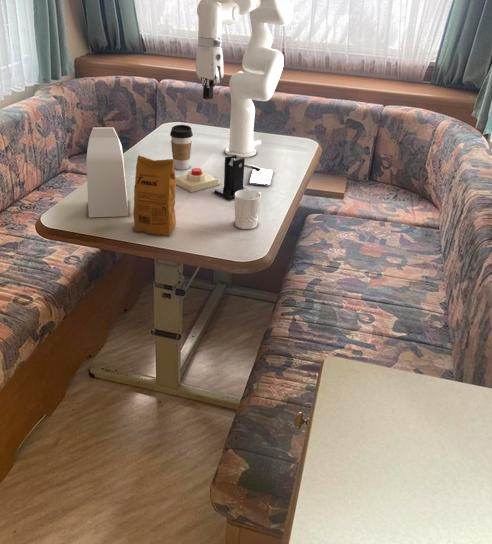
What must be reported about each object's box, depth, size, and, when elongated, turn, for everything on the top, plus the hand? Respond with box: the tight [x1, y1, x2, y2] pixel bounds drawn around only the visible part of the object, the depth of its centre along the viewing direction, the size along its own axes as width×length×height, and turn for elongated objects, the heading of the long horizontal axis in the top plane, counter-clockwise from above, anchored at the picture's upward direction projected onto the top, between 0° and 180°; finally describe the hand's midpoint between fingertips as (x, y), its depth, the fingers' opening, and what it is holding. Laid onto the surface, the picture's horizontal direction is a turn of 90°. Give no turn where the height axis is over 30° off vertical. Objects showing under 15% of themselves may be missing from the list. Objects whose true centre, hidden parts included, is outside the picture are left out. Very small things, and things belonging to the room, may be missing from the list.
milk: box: [85, 126, 129, 218], centre depth 176 cm, size 12×12×26 cm
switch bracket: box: [213, 155, 248, 201], centre depth 194 cm, size 10×8×13 cm
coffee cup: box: [169, 124, 194, 171], centre depth 214 cm, size 8×8×15 cm
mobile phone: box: [248, 168, 274, 187], centre depth 210 cm, size 8×1×15 cm
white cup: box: [234, 188, 262, 230], centre depth 174 cm, size 8×8×10 cm
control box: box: [175, 170, 219, 193], centre depth 203 cm, size 12×10×4 cm
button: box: [191, 167, 203, 176], centre depth 201 cm, size 4×4×2 cm
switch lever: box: [229, 158, 262, 171], centre depth 195 cm, size 12×5×2 cm, turn 130°
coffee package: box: [133, 154, 177, 236], centre depth 166 cm, size 10×12×22 cm
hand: (208, 98), depth 200 cm, fingers closed
